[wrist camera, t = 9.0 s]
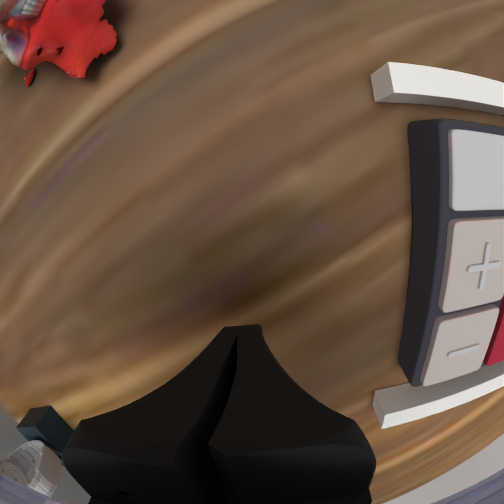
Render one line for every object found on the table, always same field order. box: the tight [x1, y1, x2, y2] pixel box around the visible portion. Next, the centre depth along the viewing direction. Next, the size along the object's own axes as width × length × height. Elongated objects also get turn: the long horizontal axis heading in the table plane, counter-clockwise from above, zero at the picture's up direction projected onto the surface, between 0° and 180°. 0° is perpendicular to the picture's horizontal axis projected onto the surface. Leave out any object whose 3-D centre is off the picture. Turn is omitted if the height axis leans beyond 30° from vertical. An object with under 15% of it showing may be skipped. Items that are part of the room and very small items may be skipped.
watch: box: [0, 406, 74, 497], centre depth 16 cm, size 6×8×11 cm
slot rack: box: [370, 62, 504, 429], centre depth 14 cm, size 21×14×2 cm
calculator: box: [398, 119, 504, 387], centre depth 14 cm, size 11×4×15 cm
